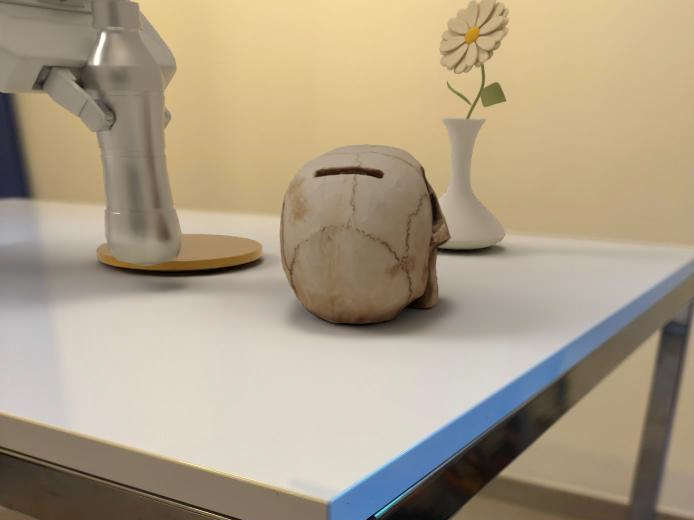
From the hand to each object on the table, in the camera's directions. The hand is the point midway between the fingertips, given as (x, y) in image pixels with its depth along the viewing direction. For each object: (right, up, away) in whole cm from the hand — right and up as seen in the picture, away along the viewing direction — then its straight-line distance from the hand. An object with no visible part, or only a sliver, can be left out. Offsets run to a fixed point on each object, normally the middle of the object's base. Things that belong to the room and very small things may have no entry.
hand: (135, 125), depth 65 cm
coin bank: (+19, -15, +1) cm, 24 cm away
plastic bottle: (-1, -10, +6) cm, 12 cm away
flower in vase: (+30, -1, +27) cm, 40 cm away
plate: (-1, -6, +18) cm, 18 cm away
